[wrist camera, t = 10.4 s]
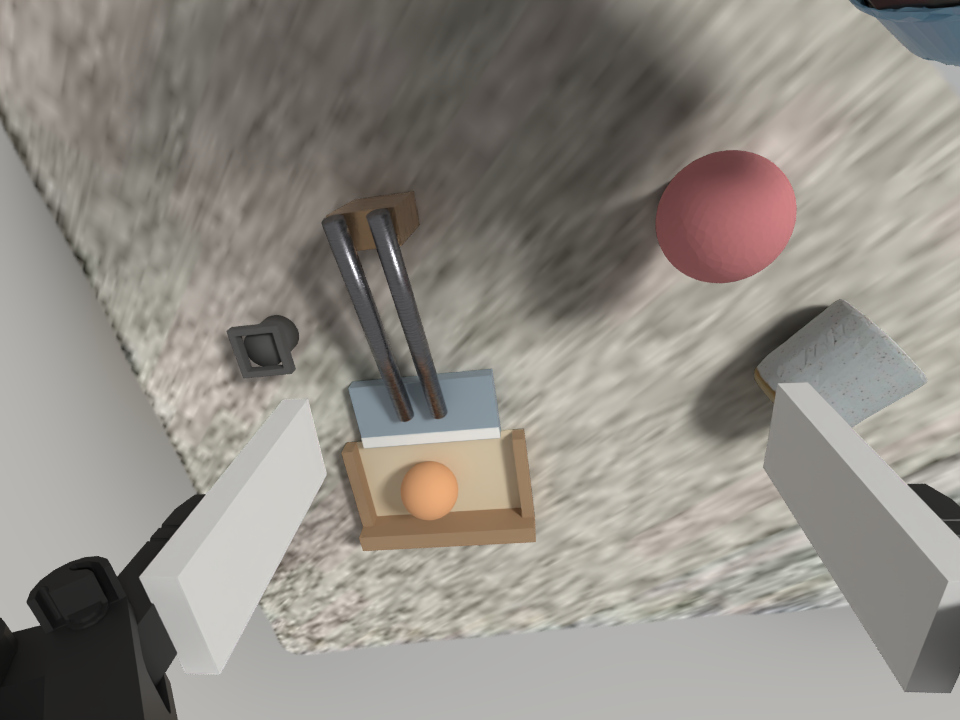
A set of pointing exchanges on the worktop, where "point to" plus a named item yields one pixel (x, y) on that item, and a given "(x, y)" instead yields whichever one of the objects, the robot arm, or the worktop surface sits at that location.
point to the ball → (429, 490)
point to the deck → (464, 400)
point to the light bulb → (726, 216)
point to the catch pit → (480, 504)
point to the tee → (265, 346)
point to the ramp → (386, 230)
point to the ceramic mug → (843, 364)
